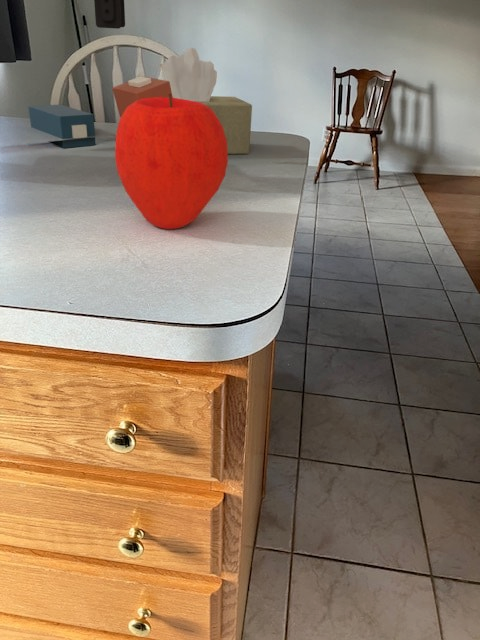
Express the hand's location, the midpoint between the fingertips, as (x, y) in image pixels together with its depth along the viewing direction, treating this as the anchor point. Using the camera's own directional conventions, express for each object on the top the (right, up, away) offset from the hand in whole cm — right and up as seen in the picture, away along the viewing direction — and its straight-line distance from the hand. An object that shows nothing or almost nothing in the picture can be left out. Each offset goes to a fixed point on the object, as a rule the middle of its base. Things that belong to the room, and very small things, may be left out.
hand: (111, 27), depth 75 cm
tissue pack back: (-13, -9, +20) cm, 26 cm away
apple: (+10, -30, -15) cm, 35 cm away
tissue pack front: (+4, -16, -3) cm, 17 cm away
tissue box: (+9, -11, +20) cm, 24 cm away
